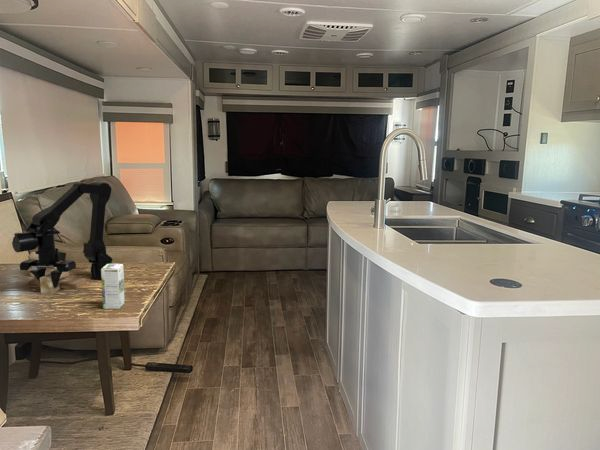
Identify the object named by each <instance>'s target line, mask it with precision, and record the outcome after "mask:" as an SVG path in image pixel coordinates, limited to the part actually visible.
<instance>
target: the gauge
mask: <svg viewBox="0 0 600 450" xmlns="http://www.w3.org/2000/svg"><path fill="white" fill-rule="evenodd" d="M69 275H70V271H68V272H62V274H61V276H60V279H62V278H66V277H67V276H69ZM39 288H40V294H45V295H47V294H48V295H49V294H50V295H51V294H54V293H56V292H57V291H60V289H61V288H59V282H58V285H57V287H56V288H54V286H53V282H52V277H51V273H47V274H45V276H43V277H40V287H39Z"/></svg>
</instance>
